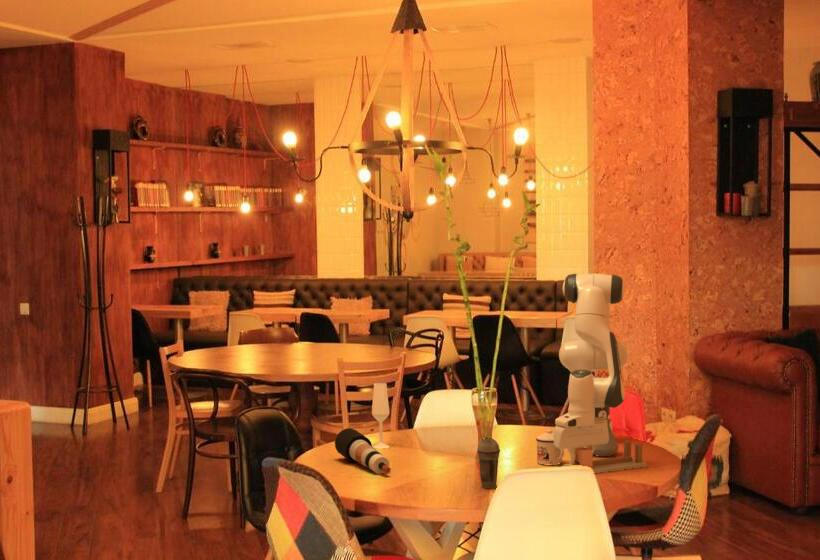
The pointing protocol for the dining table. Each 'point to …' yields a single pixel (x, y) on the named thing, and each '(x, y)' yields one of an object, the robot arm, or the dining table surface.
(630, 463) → the rail board
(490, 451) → the beverage cup
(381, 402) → the champagne flute
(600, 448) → the coffee pot
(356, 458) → the cable
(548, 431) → the teacup with lid
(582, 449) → the block
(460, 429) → the dining table surface
